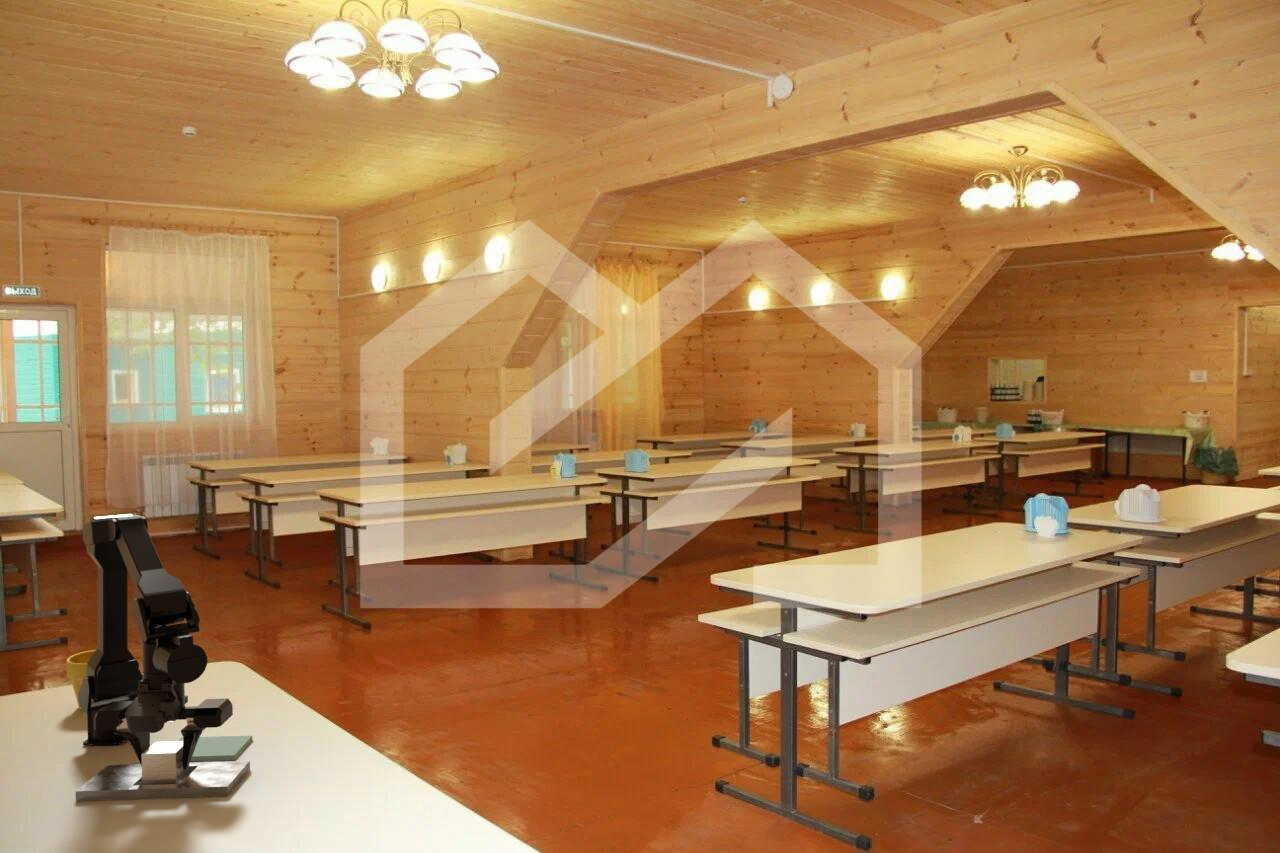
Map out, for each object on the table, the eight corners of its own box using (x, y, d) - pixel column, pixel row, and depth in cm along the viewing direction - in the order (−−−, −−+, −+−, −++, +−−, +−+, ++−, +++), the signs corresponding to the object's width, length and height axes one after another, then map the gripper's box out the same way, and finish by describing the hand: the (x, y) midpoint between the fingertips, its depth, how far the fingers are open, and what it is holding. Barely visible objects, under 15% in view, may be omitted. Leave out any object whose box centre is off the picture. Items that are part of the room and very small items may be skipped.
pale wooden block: (142, 792, 146) (141, 753, 146) (156, 779, 151) (155, 741, 151) (176, 791, 146) (175, 752, 146) (189, 778, 151) (188, 740, 151)
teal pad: (159, 762, 158) (159, 757, 158) (181, 742, 167) (181, 737, 167) (234, 759, 159) (234, 755, 159) (252, 740, 168) (252, 735, 168)
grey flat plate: (75, 801, 143) (75, 791, 143) (108, 774, 153) (107, 765, 153) (227, 796, 145) (227, 786, 145) (250, 769, 155) (249, 760, 154)
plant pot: (110, 714, 181) (108, 663, 181) (55, 714, 182) (54, 663, 181) (139, 696, 192) (138, 648, 191) (87, 696, 192) (86, 648, 191)
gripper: (73, 686, 139) (76, 792, 140) (206, 683, 141) (208, 788, 141) (110, 664, 150) (112, 763, 151) (232, 661, 152) (234, 759, 152)
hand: (165, 768), depth 149 cm, fingers open, 6 cm apart
